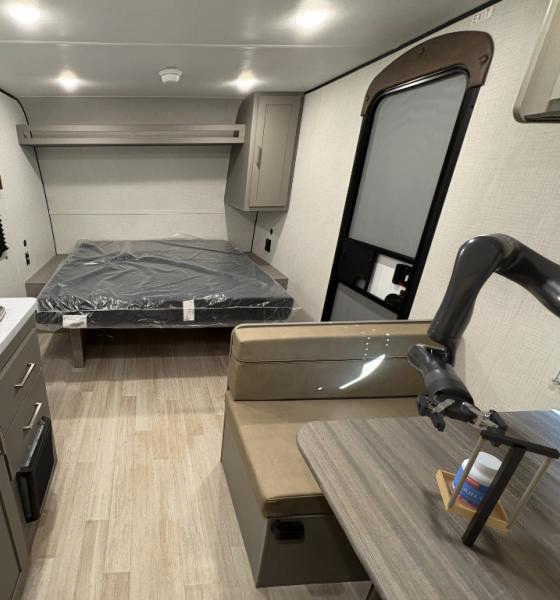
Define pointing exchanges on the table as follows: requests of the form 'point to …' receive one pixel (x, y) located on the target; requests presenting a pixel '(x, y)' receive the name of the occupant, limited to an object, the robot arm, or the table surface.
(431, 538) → the table surface
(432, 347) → the robot arm
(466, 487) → the pill bottle
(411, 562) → the table surface
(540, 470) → the hanging stand
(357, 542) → the table surface
